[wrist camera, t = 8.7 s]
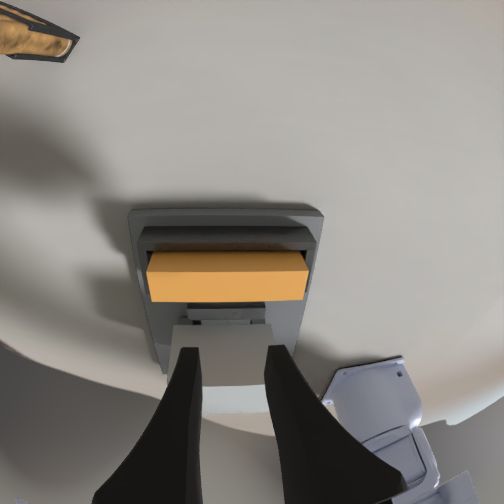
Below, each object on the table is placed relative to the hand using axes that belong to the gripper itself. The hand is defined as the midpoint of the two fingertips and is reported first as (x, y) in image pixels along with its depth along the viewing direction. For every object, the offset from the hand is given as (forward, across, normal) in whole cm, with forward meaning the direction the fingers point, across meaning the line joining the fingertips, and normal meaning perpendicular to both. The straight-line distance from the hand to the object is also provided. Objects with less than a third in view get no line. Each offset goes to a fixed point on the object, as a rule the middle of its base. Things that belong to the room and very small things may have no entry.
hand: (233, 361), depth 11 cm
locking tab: (+7, 0, 0) cm, 7 cm away
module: (+8, 0, +8) cm, 11 cm away
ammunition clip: (+10, +14, -16) cm, 24 cm away
